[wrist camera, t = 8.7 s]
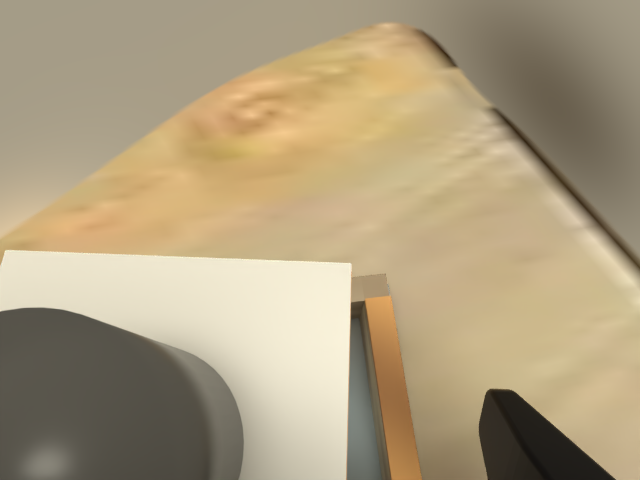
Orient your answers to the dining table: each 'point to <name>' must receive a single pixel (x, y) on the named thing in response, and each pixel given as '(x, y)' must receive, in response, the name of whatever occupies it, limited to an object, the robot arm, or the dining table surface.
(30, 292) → the bottle
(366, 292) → the rack
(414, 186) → the dining table surface
